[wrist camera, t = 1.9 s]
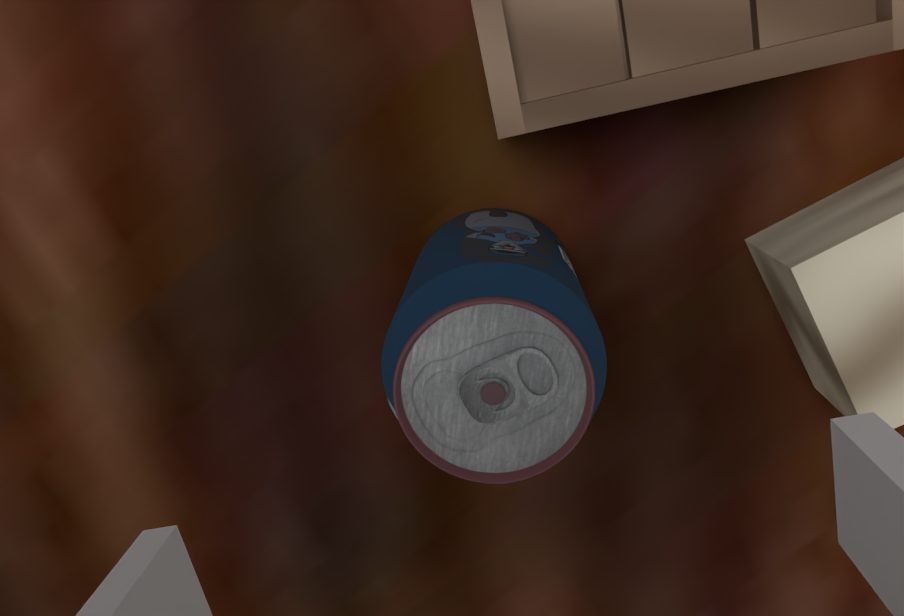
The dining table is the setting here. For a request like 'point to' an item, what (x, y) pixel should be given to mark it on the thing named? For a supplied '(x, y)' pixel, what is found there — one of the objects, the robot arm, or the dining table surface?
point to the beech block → (845, 291)
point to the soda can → (493, 350)
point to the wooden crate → (659, 50)
